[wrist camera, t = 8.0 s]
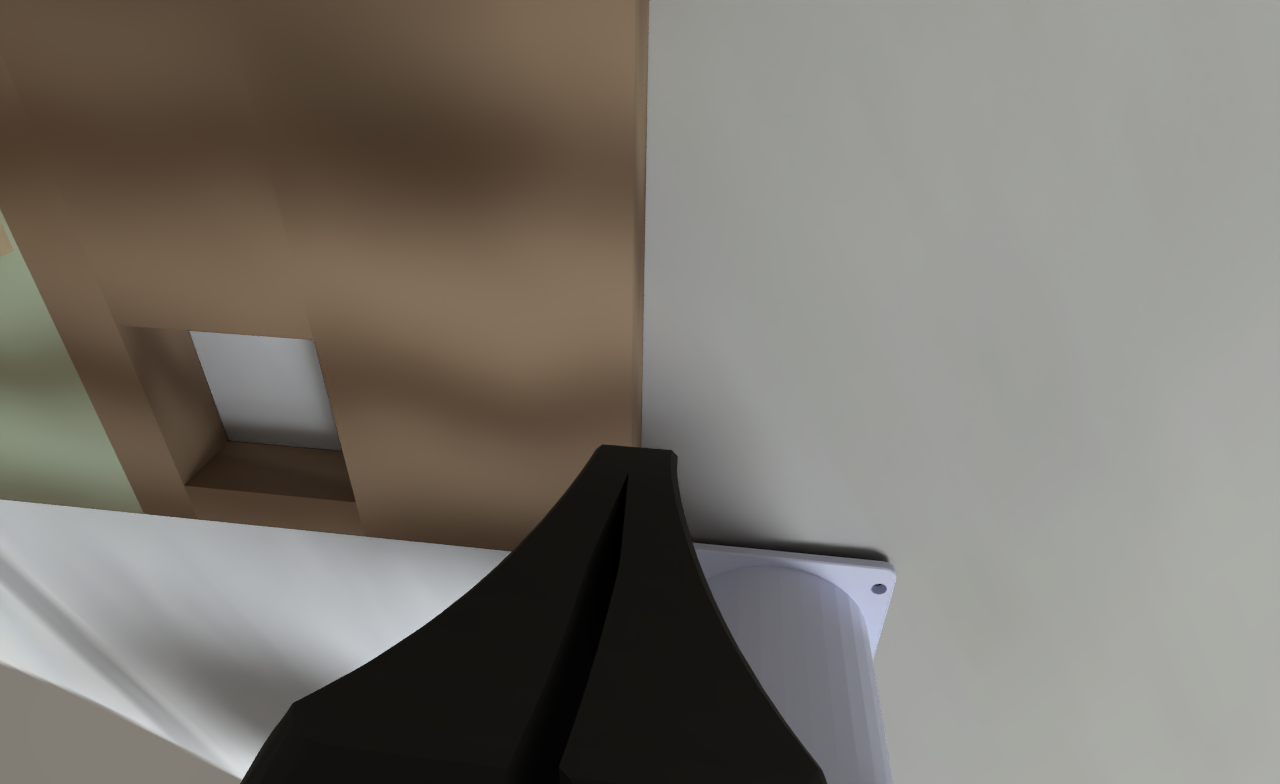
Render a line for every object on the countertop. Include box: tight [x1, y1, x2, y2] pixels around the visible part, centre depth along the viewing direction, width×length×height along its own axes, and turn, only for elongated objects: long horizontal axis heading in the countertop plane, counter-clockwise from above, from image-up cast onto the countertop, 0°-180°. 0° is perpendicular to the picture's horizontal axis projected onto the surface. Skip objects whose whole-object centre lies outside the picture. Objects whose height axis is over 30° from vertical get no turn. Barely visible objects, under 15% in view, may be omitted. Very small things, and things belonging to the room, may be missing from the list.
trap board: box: [0, 0, 649, 551], centre depth 19 cm, size 24×24×2 cm
